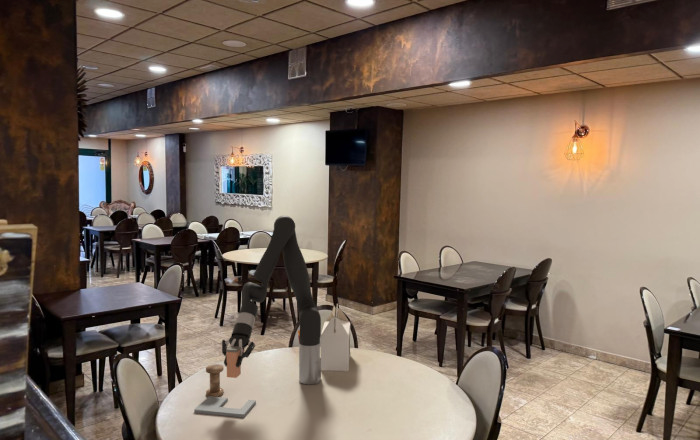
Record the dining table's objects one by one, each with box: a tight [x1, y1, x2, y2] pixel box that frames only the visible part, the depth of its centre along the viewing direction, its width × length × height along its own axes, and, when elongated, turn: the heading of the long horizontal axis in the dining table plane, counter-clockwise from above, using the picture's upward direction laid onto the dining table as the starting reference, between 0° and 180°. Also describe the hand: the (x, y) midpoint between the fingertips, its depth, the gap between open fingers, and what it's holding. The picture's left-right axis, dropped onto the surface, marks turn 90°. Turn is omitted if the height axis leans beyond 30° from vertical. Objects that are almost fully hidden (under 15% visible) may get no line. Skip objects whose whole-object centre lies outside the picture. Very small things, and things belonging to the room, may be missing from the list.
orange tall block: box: [226, 345, 242, 379], centre depth 183 cm, size 4×4×11 cm
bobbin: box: [205, 363, 225, 398], centre depth 194 cm, size 7×7×11 cm
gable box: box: [320, 303, 351, 372], centre depth 231 cm, size 22×13×28 cm, turn 178°
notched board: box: [193, 396, 257, 418], centre depth 182 cm, size 20×12×1 cm, turn 80°
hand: (231, 365), depth 181 cm, fingers closed on orange tall block, 4 cm apart
